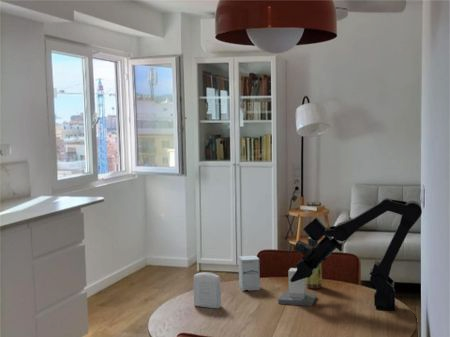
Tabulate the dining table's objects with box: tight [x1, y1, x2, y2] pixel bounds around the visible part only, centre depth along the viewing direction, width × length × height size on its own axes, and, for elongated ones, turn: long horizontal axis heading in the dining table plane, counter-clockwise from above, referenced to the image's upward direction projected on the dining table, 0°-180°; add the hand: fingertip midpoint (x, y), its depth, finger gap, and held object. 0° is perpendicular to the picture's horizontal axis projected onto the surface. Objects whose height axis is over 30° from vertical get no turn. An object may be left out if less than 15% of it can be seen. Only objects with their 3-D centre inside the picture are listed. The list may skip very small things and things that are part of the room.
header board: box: [278, 291, 317, 307], centre depth 196 cm, size 12×10×3 cm
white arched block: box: [193, 271, 222, 309], centre depth 192 cm, size 10×4×12 cm, turn 67°
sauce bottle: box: [306, 236, 323, 290], centre depth 211 cm, size 6×6×20 cm
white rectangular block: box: [287, 267, 307, 299], centre depth 195 cm, size 6×4×10 cm
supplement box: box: [238, 255, 261, 292], centre depth 213 cm, size 7×7×13 cm
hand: (293, 278), depth 196 cm, fingers open, 8 cm apart
